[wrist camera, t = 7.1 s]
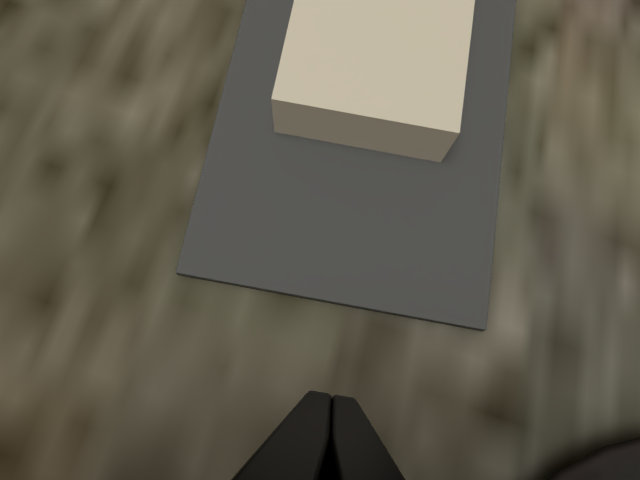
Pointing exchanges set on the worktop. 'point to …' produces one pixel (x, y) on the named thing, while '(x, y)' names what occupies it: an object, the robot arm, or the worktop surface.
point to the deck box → (375, 74)
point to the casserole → (606, 464)
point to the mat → (352, 192)
